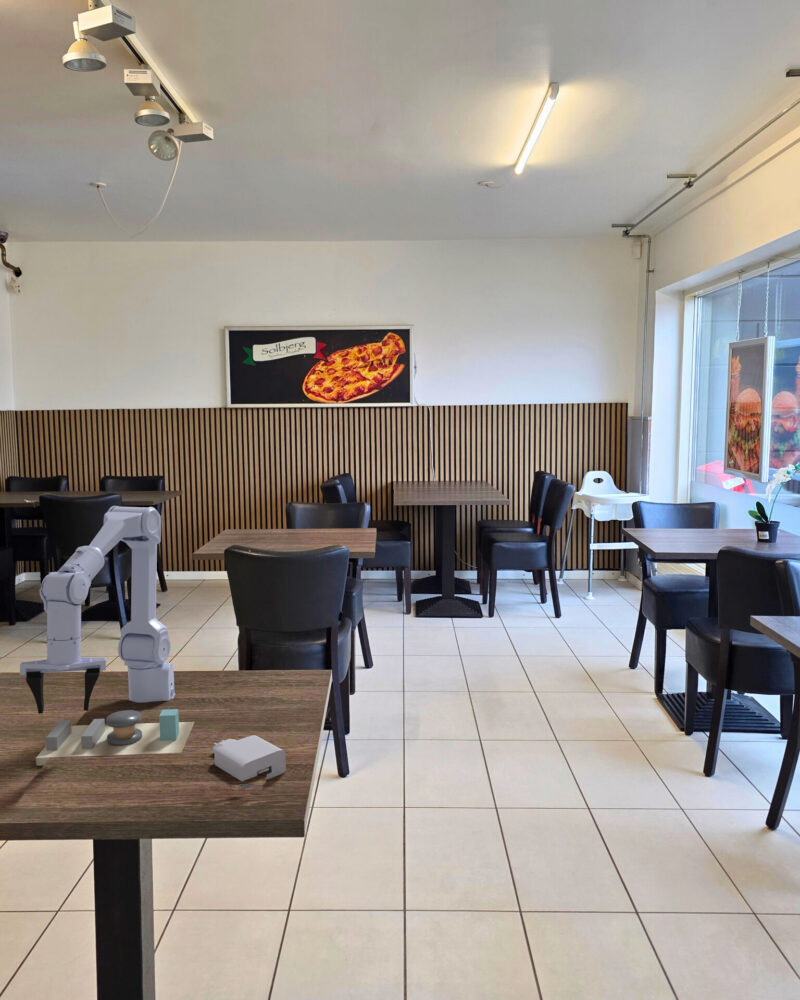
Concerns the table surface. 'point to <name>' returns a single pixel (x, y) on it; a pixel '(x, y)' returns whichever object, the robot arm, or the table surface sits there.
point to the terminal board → (144, 746)
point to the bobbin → (124, 728)
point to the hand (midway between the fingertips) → (63, 710)
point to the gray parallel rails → (64, 730)
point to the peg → (169, 724)
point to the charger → (249, 758)
